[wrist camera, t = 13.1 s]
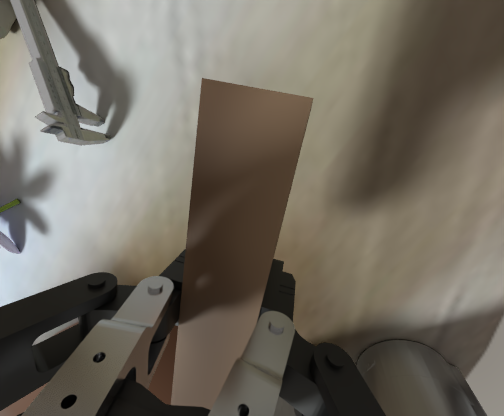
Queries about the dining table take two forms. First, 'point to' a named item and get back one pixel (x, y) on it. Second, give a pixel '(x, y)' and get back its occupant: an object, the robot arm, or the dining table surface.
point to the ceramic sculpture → (6, 17)
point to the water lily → (3, 239)
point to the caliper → (54, 83)
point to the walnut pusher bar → (232, 227)
